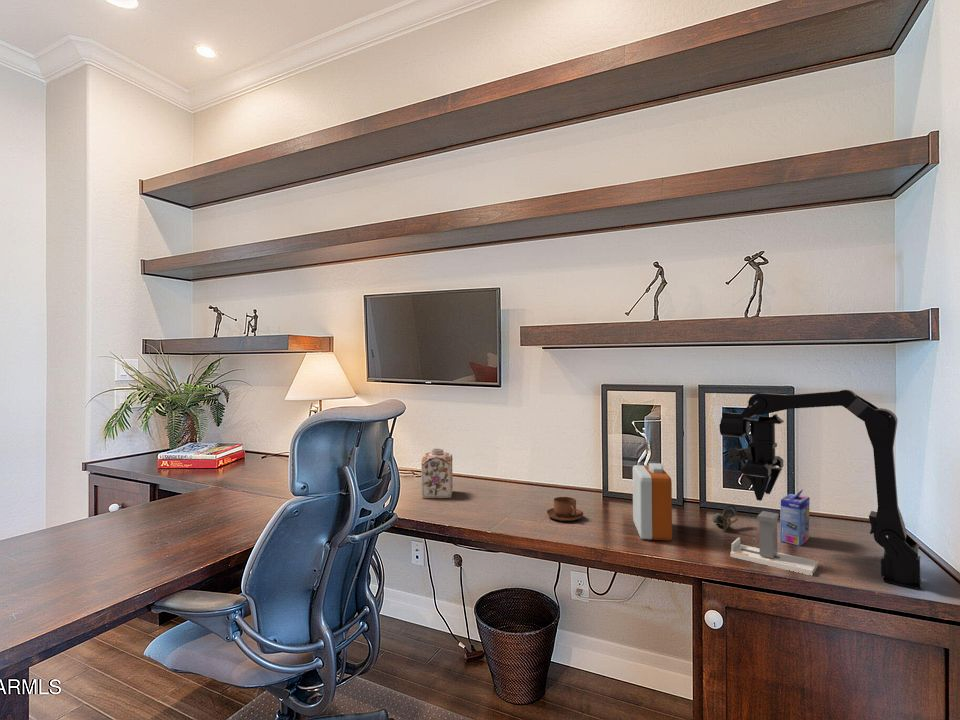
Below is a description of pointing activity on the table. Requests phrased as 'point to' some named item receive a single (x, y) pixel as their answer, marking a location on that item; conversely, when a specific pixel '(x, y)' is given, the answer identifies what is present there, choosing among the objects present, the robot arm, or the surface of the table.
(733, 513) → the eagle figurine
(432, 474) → the decorative jar
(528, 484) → the table surface
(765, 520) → the switch knob
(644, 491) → the alarm clock
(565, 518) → the cup and saucer
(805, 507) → the ink cartridge box
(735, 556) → the switch unit
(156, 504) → the table surface
